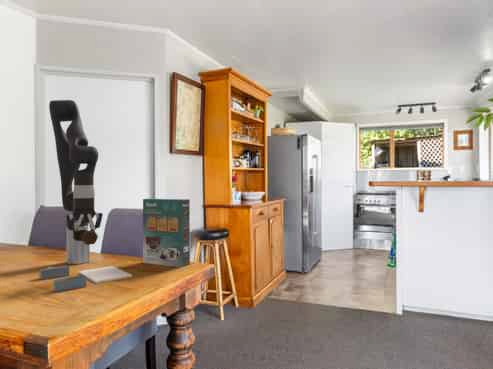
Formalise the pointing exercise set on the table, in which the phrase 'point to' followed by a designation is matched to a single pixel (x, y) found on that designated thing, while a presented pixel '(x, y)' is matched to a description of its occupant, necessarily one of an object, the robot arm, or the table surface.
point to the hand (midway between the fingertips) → (84, 239)
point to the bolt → (87, 236)
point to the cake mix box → (166, 232)
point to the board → (104, 274)
